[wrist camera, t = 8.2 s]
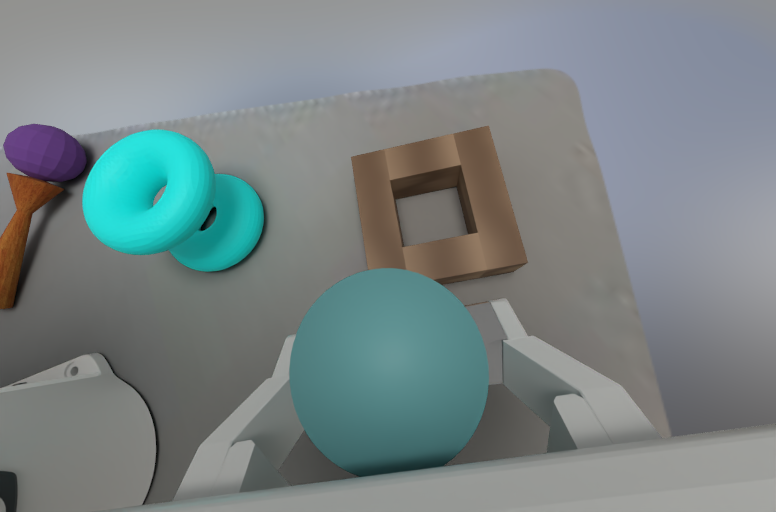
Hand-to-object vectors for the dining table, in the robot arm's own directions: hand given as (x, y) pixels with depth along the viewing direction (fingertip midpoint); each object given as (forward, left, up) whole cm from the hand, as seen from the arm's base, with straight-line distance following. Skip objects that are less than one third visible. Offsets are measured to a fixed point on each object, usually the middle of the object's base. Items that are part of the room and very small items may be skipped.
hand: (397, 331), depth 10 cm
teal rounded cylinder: (0, -1, -5) cm, 5 cm away
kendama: (-39, +19, -17) cm, 47 cm away
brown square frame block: (+3, +9, -17) cm, 20 cm away
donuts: (-18, +13, -17) cm, 28 cm away
